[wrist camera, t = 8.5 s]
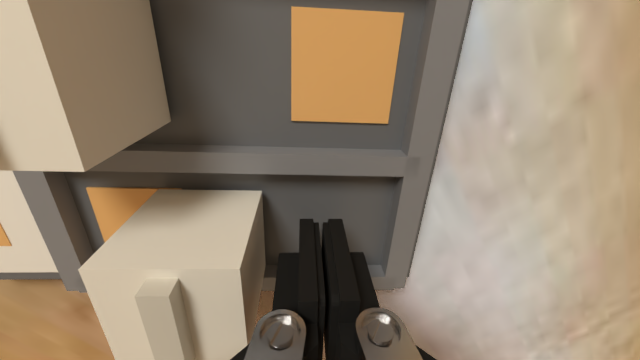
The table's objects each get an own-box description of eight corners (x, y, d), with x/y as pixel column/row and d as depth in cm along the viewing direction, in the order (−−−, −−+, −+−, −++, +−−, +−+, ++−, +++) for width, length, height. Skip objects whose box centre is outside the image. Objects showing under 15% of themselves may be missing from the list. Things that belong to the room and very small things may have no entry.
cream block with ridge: (147, -7, 8) (-31, -64, 4) (170, 121, 10) (63, 184, 6) (3, -15, 8) (-368, -88, 4) (50, 117, 10) (-166, 181, 5)
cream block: (262, 190, 11) (235, 286, 7) (265, 264, 13) (245, 381, 9) (158, 189, 11) (60, 287, 7) (175, 264, 13) (105, 385, 8)
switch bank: (531, -341, 7) (599, -456, 5) (402, 263, 15) (414, 289, 14) (-423, -477, 6) (-711, -684, 4) (-4, 264, 14) (-44, 293, 12)
